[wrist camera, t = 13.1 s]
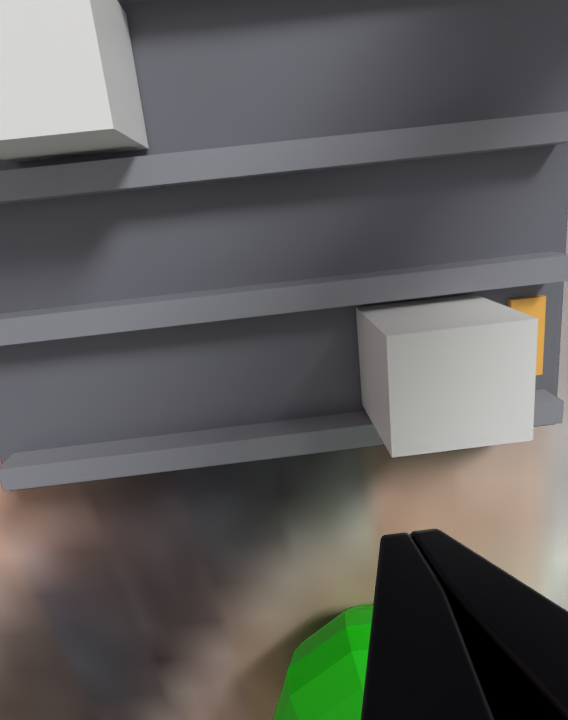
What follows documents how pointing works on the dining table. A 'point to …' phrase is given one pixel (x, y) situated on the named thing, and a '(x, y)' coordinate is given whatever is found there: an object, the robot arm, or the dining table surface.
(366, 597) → the dining table surface
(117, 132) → the white cube
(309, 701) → the plastic bottle
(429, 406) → the pale grey cube
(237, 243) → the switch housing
